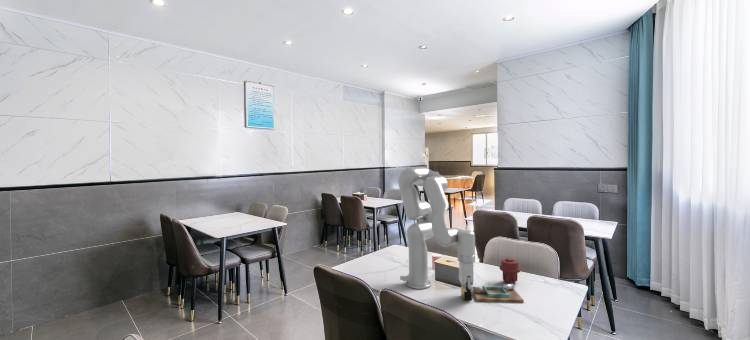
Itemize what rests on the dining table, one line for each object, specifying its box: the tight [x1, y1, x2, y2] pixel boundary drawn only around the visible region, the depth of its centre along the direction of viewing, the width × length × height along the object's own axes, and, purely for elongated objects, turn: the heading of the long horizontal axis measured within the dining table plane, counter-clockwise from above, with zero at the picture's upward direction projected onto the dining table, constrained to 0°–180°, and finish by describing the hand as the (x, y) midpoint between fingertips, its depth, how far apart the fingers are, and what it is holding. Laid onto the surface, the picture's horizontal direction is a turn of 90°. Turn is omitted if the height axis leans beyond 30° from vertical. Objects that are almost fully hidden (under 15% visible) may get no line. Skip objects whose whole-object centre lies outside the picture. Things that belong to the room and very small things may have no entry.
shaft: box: [501, 283, 515, 292], centre depth 152 cm, size 5×4×4 cm
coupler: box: [460, 284, 473, 301], centre depth 146 cm, size 5×5×6 cm
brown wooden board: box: [472, 285, 525, 304], centre depth 149 cm, size 20×14×4 cm
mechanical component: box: [499, 257, 522, 285], centre depth 165 cm, size 12×10×10 cm
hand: (466, 297), depth 146 cm, fingers open, 5 cm apart
